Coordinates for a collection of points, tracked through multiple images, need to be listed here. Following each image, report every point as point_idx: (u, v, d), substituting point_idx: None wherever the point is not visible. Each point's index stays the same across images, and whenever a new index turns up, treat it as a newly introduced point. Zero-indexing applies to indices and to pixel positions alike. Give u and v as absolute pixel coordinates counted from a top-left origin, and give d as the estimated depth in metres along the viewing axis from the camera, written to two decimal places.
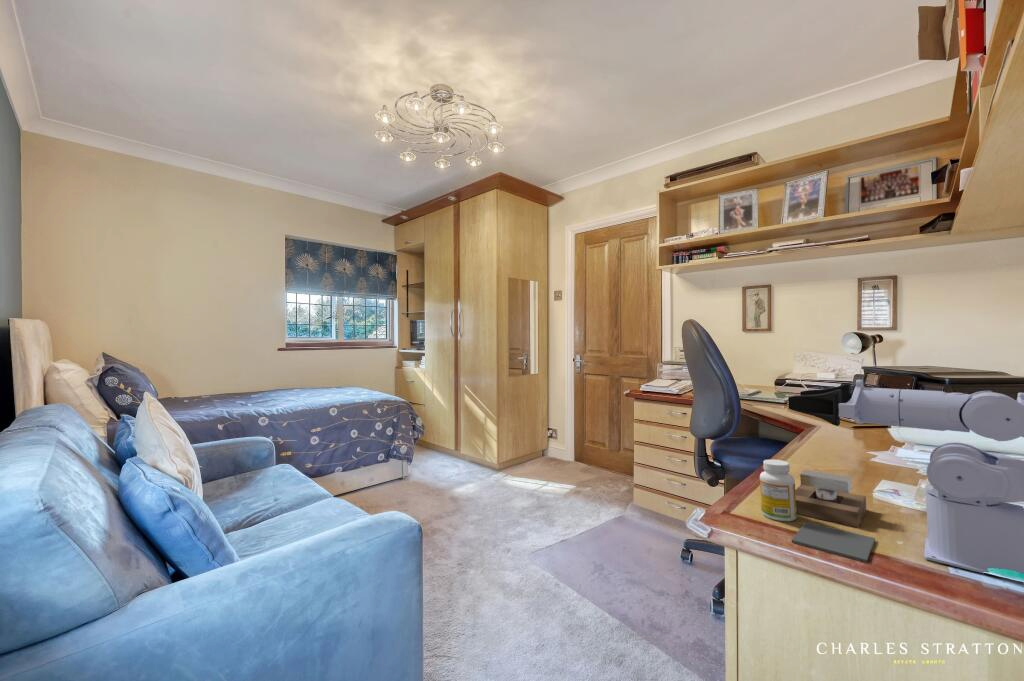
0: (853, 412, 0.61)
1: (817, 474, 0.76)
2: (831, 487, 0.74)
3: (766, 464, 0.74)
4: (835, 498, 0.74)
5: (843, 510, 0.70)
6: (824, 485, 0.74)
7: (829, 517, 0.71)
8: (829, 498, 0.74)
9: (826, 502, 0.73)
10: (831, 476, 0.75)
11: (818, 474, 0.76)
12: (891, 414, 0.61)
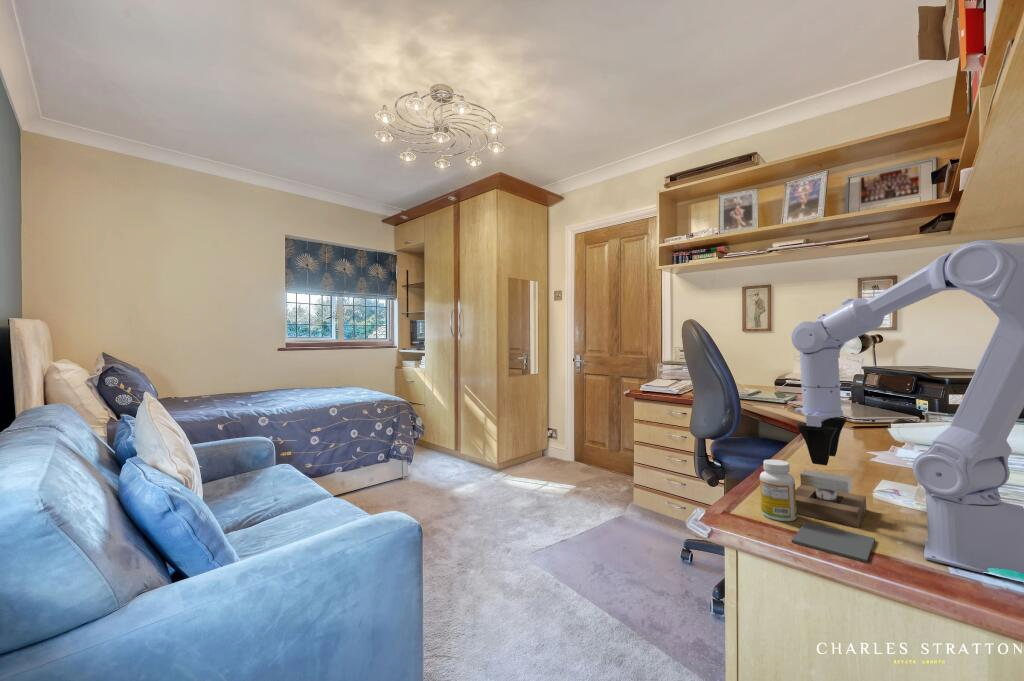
0: (813, 416, 0.71)
1: (817, 474, 0.76)
2: (831, 487, 0.74)
3: (766, 464, 0.74)
4: (835, 498, 0.74)
5: (843, 510, 0.70)
6: (824, 485, 0.74)
7: (829, 517, 0.71)
8: (829, 498, 0.74)
9: (826, 502, 0.73)
10: (831, 476, 0.75)
11: (818, 474, 0.76)
12: (822, 392, 0.74)
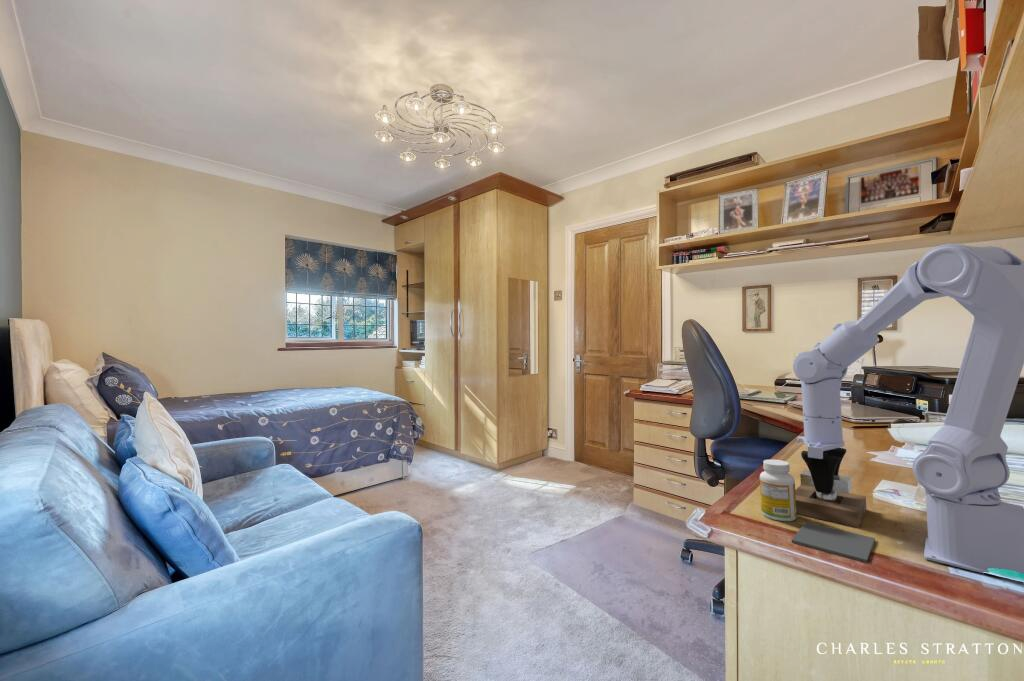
0: (815, 448, 0.71)
1: None
2: None
3: (766, 464, 0.74)
4: (835, 498, 0.74)
5: (843, 510, 0.70)
6: None
7: (829, 517, 0.71)
8: (829, 498, 0.74)
9: (826, 502, 0.73)
10: None
11: None
12: (823, 422, 0.74)
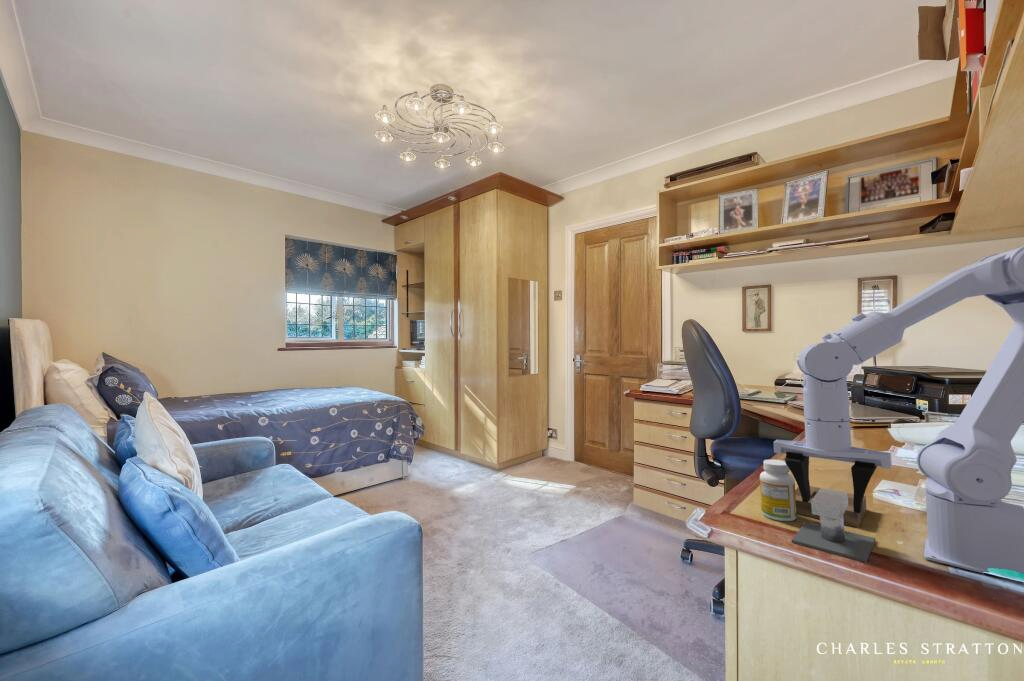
0: None
1: (829, 494, 0.65)
2: None
3: (766, 464, 0.74)
4: (826, 523, 0.64)
5: None
6: None
7: None
8: (820, 518, 0.65)
9: None
10: (828, 498, 0.64)
11: (830, 494, 0.65)
12: (805, 422, 0.66)
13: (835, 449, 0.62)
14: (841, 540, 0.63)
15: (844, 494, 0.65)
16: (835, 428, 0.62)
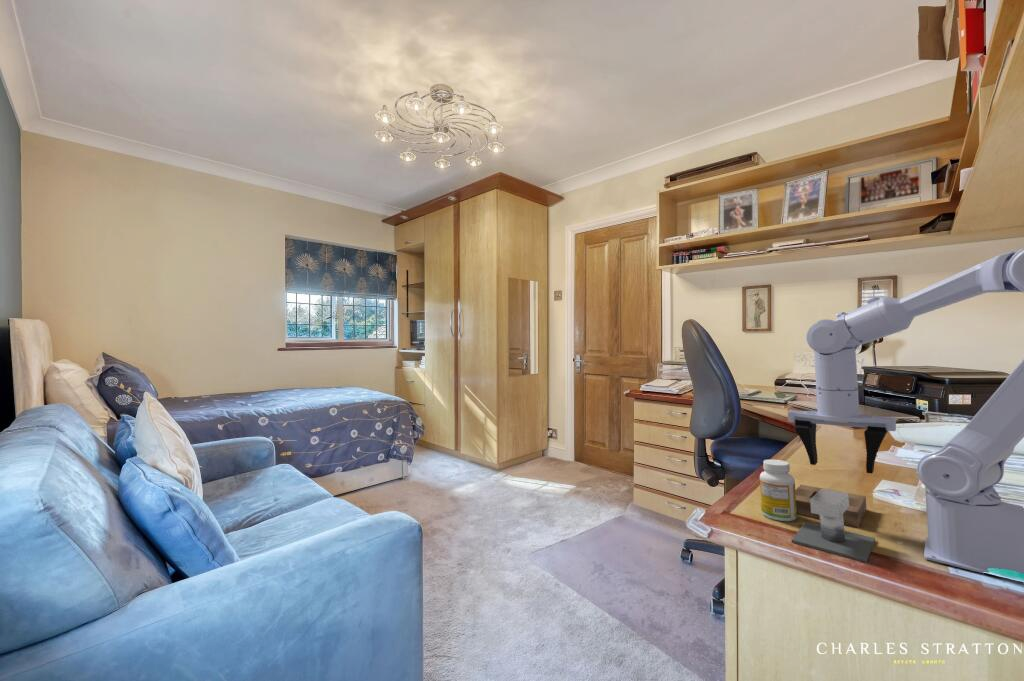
0: None
1: (830, 494, 0.65)
2: None
3: (766, 464, 0.74)
4: (826, 522, 0.64)
5: None
6: None
7: None
8: None
9: None
10: (828, 497, 0.64)
11: (830, 494, 0.65)
12: None
13: (845, 415, 0.68)
14: (841, 540, 0.63)
15: (845, 494, 0.65)
16: (845, 396, 0.68)
